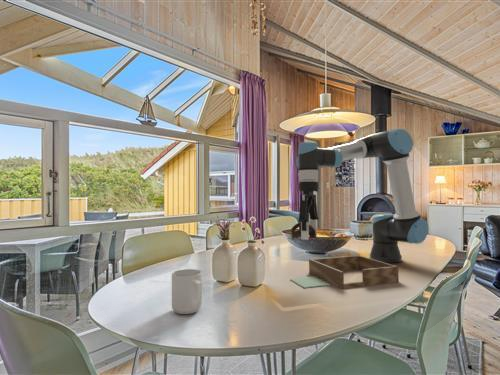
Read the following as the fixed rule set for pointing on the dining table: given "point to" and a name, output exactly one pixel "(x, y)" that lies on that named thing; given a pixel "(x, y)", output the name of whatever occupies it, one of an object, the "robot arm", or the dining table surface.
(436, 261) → the dining table surface
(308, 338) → the dining table surface
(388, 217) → the robot arm
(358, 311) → the dining table surface
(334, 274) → the crate
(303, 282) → the mat
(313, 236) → the brown hollow vessel
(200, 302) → the mug
